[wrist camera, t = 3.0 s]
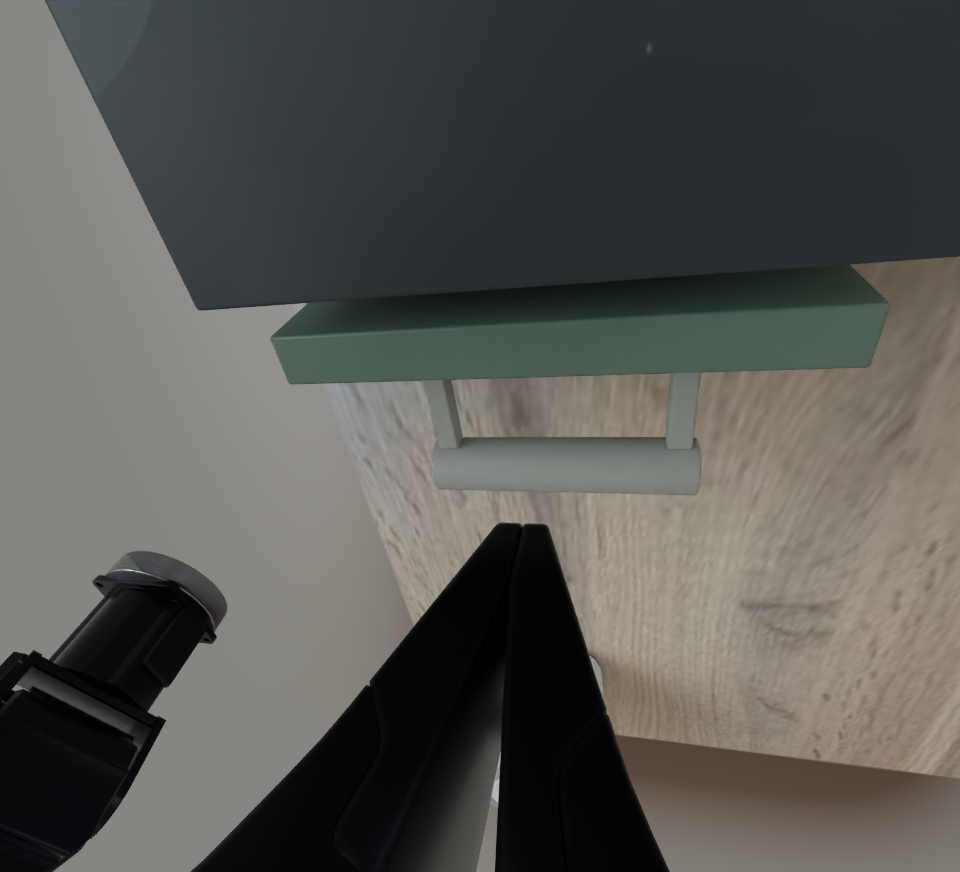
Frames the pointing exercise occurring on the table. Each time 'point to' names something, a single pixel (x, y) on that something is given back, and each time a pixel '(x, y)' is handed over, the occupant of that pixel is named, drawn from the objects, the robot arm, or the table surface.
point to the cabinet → (525, 138)
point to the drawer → (587, 360)
